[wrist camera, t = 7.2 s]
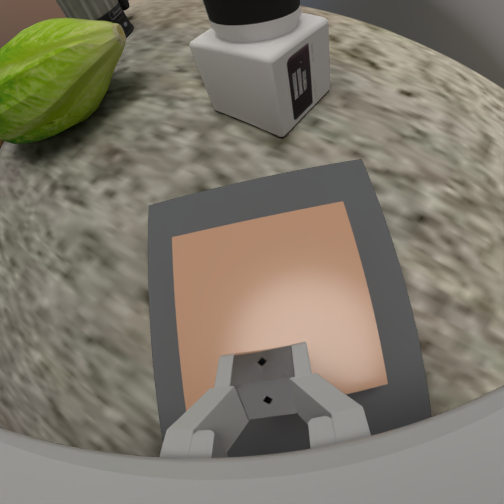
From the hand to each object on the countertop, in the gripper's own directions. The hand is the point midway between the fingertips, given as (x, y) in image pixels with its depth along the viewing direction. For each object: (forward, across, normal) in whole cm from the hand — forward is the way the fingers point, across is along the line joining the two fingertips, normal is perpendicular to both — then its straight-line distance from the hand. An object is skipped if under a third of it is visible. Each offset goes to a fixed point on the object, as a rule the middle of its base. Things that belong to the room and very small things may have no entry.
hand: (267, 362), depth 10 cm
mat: (+7, 0, +3) cm, 8 cm away
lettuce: (+27, +21, -16) cm, 38 cm away
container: (+21, -3, -10) cm, 23 cm away
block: (+2, 0, +5) cm, 6 cm away
